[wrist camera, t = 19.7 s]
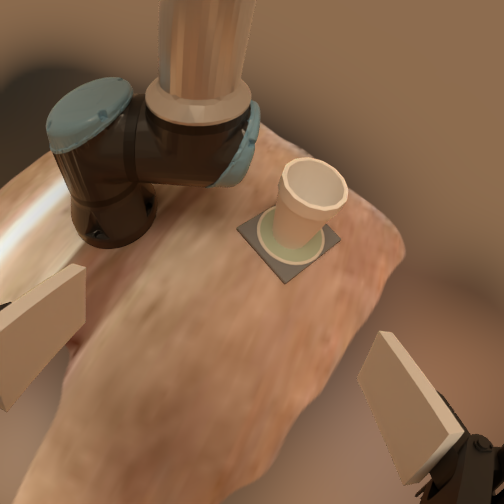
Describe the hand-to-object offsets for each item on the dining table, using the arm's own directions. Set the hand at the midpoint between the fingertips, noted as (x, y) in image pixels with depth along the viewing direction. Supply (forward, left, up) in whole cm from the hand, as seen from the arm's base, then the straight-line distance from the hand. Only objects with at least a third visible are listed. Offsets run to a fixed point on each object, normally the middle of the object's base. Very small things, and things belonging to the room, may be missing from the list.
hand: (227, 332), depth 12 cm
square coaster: (-10, +25, -30) cm, 40 cm away
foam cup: (-11, +25, -29) cm, 40 cm away
